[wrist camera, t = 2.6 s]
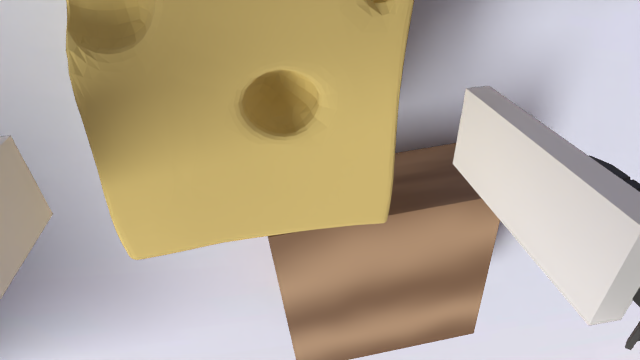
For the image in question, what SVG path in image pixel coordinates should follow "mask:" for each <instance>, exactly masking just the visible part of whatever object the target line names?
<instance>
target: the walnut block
mask: <svg viewBox="0 0 640 360" xmlns="http://www.w3.org/2000/svg"><path fill="white" fill-rule="evenodd" d="M455 148H456V143H453V144H447V145H441V146H435V147H429V148H423V149H417V150H411V151H405V152H399V153H395V162H394V177H393V187H392V195H391V202H390V209H389V214H388V218H387V221H386V222H385V223H379V224H364V225H352V226H342V227H333V228H323V229H314V230H307V231H300V232H292V233H285V234H278V235H271V236H268V239H269V243H270V248H271V252H272V257H273V261H274V265H275V270H276V274H277V278H278V283H279V287H280V291H281V296H282V300H283V304H284V309H285V313H286V318H287V322H288V326H289V331H290V335H291V339H292V344H293V348H294V352H295V357H296V360H349V359H354V358H359V357H364V356H368V355H373V354H378V353H383V352H387V351H392V350H397V349H401V348H406V347H411V346H416V345H420V344H425V343H430V342H435V341H439V340H444V339H449V338H454V337H458V336H463V335H468V334H473V333H474V329H475V325H476V321H477V316H478V312H479V308H480V303H481V299H482V295H483V291H484V286H485V282H486V278H487V274H488V269H489V265H490V261H491V256H492V252H493V248H494V244H495V239H496V235H497V231H498V227H499V222H500V219H499V218H498V217H497V216H496V215H495V214H494V212H493V211H492V210H491V209H490V208H489V206H488V205H487V204H486V203H485V202H484V200H483V199H482V198H481V197H480V196H479V194H478V193H477V192H476V191H475V190H474V189H473V187H472V186H471V185H470V184H469V183H468V181H467V180H466V179H465V178H464V177H463V175H462V174H461V173H460V172H459V171H458V169H457V168H456V167H455V166H454V165H453V159H454V153H455Z"/></svg>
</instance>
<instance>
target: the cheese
mask: <svg viewBox="0 0 640 360" xmlns="http://www.w3.org/2000/svg"><path fill="white" fill-rule="evenodd" d="M66 2H67V30H66V53H67V58H68V68H69V76H70V80H71V84H72V88H73V92H74V96H75V100H76V103H77V106H78V109H79V112H80V115H81V118H82V121H83V124H84V127H85V131H86V134H87V137H88V140H89V144H90V147H91V150H92V153H93V157H94V160H95V163H96V166H97V169H98V173H99V177H100V181H101V185H102V188H103V192H104V196H105V199H106V202H107V205H108V208H109V212H110V215H111V218H112V221H113V224H114V226H115V229H116V232H117V234H118V236H119V238H120V241H121V242H122V244H123V246H124V248H125V249H126V251H127V253H128V255H129V256H130V257H131V258H132V259H135V260H140V259H146V258H151V257H156V256H161V255H167V254H171V253H176V252H181V251H186V250H190V249H195V248H199V247H204V246H209V245H214V244H218V243H223V242H230V241H236V240H243V239H249V238H257V237H264V236H271V235H278V234H285V233H292V232H300V231H307V230H314V229H323V228H333V227H342V226H352V225H364V224H379V223H385V222H386V221H387V218H388V214H389V209H390V202H391V195H392V187H393V177H394V162H395V147H396V131H397V117H398V105H399V95H400V86H401V79H402V71H403V64H404V57H405V51H406V45H407V39H408V33H409V27H410V21H411V15H412V9H413V4H414V0H66Z"/></svg>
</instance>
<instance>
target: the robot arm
mask: <svg viewBox="0 0 640 360" xmlns="http://www.w3.org/2000/svg"><path fill="white" fill-rule="evenodd" d="M453 165H454V166H455V167H456V168H457V169H458V171H459V172H460V173H461V174H462V175H463V177H464V178H465V179H466V180H467V181H468V183H469V184H470V185H471V186H472V187H473V189H474V190H475V191H476V192H477V193H478V194H479V196H480V197H481V198H482V199H483V200H484V202H485V203H486V204H487V205H488V206H489V208H490V209H491V210H492V211H493V212H494V214H495V215H496V216H497V217H498V218H499V219H500V221H501V222H502V223H503V224H504V225H505V227H506V228H507V229H508V230H509V231H510V233H511V234H512V235H513V236H514V237H515V239H516V240H517V241H518V242H519V243H520V245H521V246H522V247H523V248H524V249H525V250H526V252H527V253H528V254H529V255H530V256H531V258H532V259H533V260H534V261H535V262H536V264H537V265H538V266H539V267H540V268H541V270H542V271H543V272H544V273H545V274H546V275H547V277H548V278H549V279H550V280H551V281H552V283H553V284H554V285H555V286H556V287H557V289H558V290H559V291H560V292H561V293H562V295H563V296H564V297H565V298H566V299H567V301H568V302H569V303H570V304H571V305H572V306H573V308H574V309H575V310H576V311H577V312H578V314H579V315H580V316H581V317H582V318H583V320H584V321H585V322H586V323H587V324H588V326H590V325H595V324H601V323H606V322H612V321H617V320H621V319H622V317H623V316H624V314H625V313H626V311H627V309H628V308H629V306H630V305H631V303H632V301H634V302H635V303H636V304H637V305H638V306H639V307H640V184H639V183H638V182H636V181H635V180H630V177H629V176H628V175H626V174H625V173H623V172H622V171H620V170H619V169H617V168H616V167H615V166H613V165H611V164H609V163H606V162H604V161H602V160H599V159H597V158H595V157H592V156H590V155H589V156H588V155H587V154H585V153H584V152H582V151H581V150H579V149H578V148H577V147H575V146H574V145H572V144H571V143H569V142H568V141H567V140H565V139H564V138H562V137H561V136H560V135H558V134H557V133H555V132H554V131H552V130H551V129H550V128H548V127H547V126H545V125H544V124H543V123H541V122H540V121H538V120H537V119H535V118H534V117H533V116H531V115H530V114H528V113H527V112H526V111H524V110H523V109H521V108H520V107H518V106H517V105H516V104H514V103H513V102H511V101H510V100H509V99H507V98H506V97H504V96H503V95H501V94H500V93H499V92H497V91H496V90H494V89H493V88H492V87H490V86H483V87H473V88H466V91H465V97H464V102H463V108H462V114H461V119H460V125H459V131H458V136H457V142H456V148H455V153H454V159H453ZM52 215H53V213H52V212H51V210H50V208H49V206H48V204H47V202H46V200H45V199H44V197H43V195H42V193H41V191H40V189H39V187H38V186H37V184H36V182H35V180H34V178H33V176H32V174H31V173H30V171H29V169H28V167H27V165H26V163H25V161H24V160H23V158H22V156H21V154H20V152H19V150H18V148H17V146H16V145H15V143H14V141H13V139H12V137H11V135H10V136H1V137H0V299H1V298H2V296H3V295H4V293H5V291H6V290H7V288H8V286H9V285H10V283H11V281H12V280H13V278H14V277H15V275H16V273H17V272H18V270H19V268H20V267H21V265H22V264H23V262H24V260H25V259H26V257H27V255H28V254H29V252H30V251H31V249H32V247H33V246H34V244H35V242H36V241H37V239H38V237H39V236H40V234H41V233H42V231H43V229H44V228H45V226H46V224H47V223H48V221H49V220H50V218H51V216H52ZM637 341H640V322H639V323H638V325H637V326H636V328H635V329H634V331H633V332H632V334H631V335H630V337H629V338H628V340H627V342H626V345H625V348H627V349H630V350H631V349H632V348H633V346H634V345H635V344H636V342H637Z"/></svg>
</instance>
